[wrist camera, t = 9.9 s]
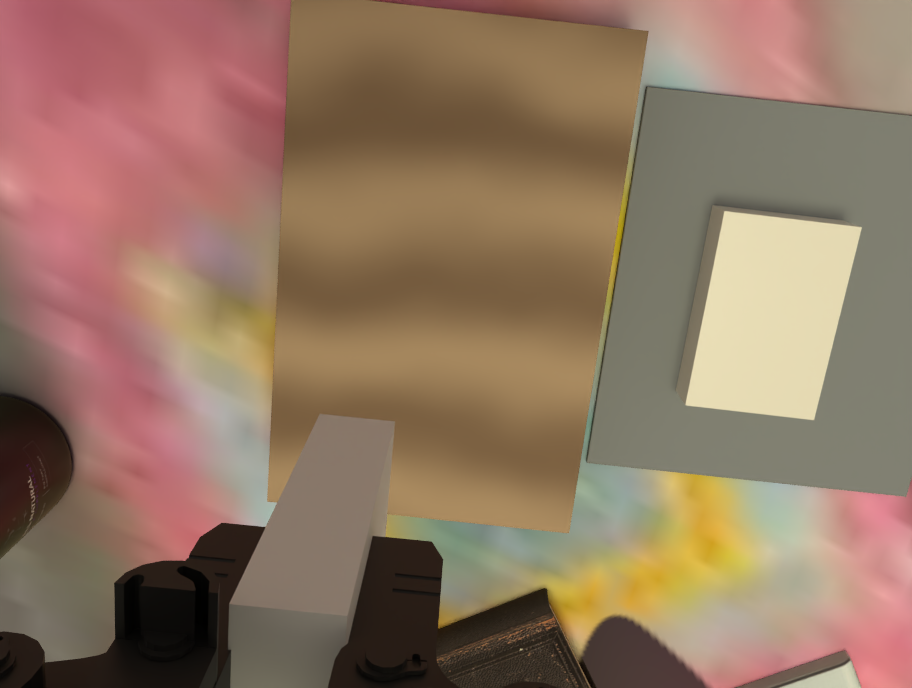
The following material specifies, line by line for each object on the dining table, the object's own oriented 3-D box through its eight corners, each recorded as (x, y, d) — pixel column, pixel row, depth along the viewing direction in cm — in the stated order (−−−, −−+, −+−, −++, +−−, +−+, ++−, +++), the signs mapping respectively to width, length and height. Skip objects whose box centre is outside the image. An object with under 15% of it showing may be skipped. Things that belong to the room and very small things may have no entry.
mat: (646, 86, 38) (647, 86, 38) (1005, 126, 39) (1009, 126, 38) (586, 460, 44) (587, 462, 43) (903, 493, 44) (906, 496, 43)
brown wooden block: (310, 1, 38) (291, -8, 34) (631, 36, 38) (648, 31, 34) (285, 465, 44) (267, 501, 40) (561, 494, 44) (568, 533, 40)
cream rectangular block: (861, 227, 38) (843, 220, 40) (724, 211, 38) (712, 204, 40) (813, 420, 40) (798, 404, 42) (685, 405, 40) (675, 390, 42)
